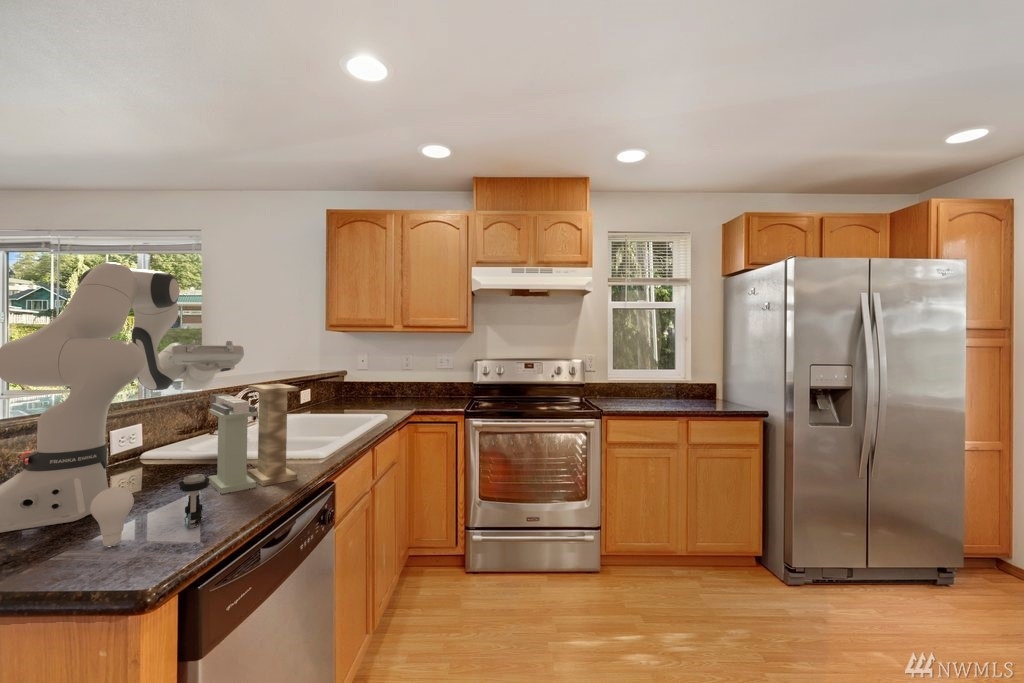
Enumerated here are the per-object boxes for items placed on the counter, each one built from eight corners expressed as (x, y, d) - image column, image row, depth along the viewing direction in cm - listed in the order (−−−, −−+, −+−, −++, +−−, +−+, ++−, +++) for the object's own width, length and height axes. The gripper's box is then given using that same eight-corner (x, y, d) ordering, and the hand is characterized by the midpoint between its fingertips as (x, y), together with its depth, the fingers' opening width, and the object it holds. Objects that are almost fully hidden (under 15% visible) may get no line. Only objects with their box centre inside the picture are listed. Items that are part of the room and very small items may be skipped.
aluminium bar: (233, 414, 115) (233, 402, 115) (210, 404, 133) (210, 394, 133) (248, 413, 117) (249, 401, 117) (223, 403, 135) (224, 393, 135)
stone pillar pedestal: (262, 486, 121) (263, 389, 121) (246, 474, 131) (248, 385, 131) (297, 479, 127) (298, 387, 127) (279, 469, 137) (281, 383, 137)
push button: (207, 527, 93) (208, 479, 94) (175, 533, 91) (176, 483, 91) (209, 517, 99) (210, 471, 99) (179, 521, 96) (180, 474, 97)
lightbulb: (114, 538, 88) (115, 482, 88) (141, 540, 87) (142, 483, 87) (80, 552, 82) (81, 492, 82) (109, 555, 81) (110, 494, 81)
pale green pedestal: (221, 494, 114) (222, 409, 114) (208, 481, 124) (209, 403, 124) (256, 487, 120) (257, 406, 120) (240, 476, 130) (242, 401, 130)
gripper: (166, 354, 150) (173, 333, 141) (236, 354, 164) (246, 335, 156) (167, 371, 147) (174, 350, 139) (238, 369, 162) (248, 351, 153)
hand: (213, 342), depth 147 cm, fingers open, 8 cm apart
